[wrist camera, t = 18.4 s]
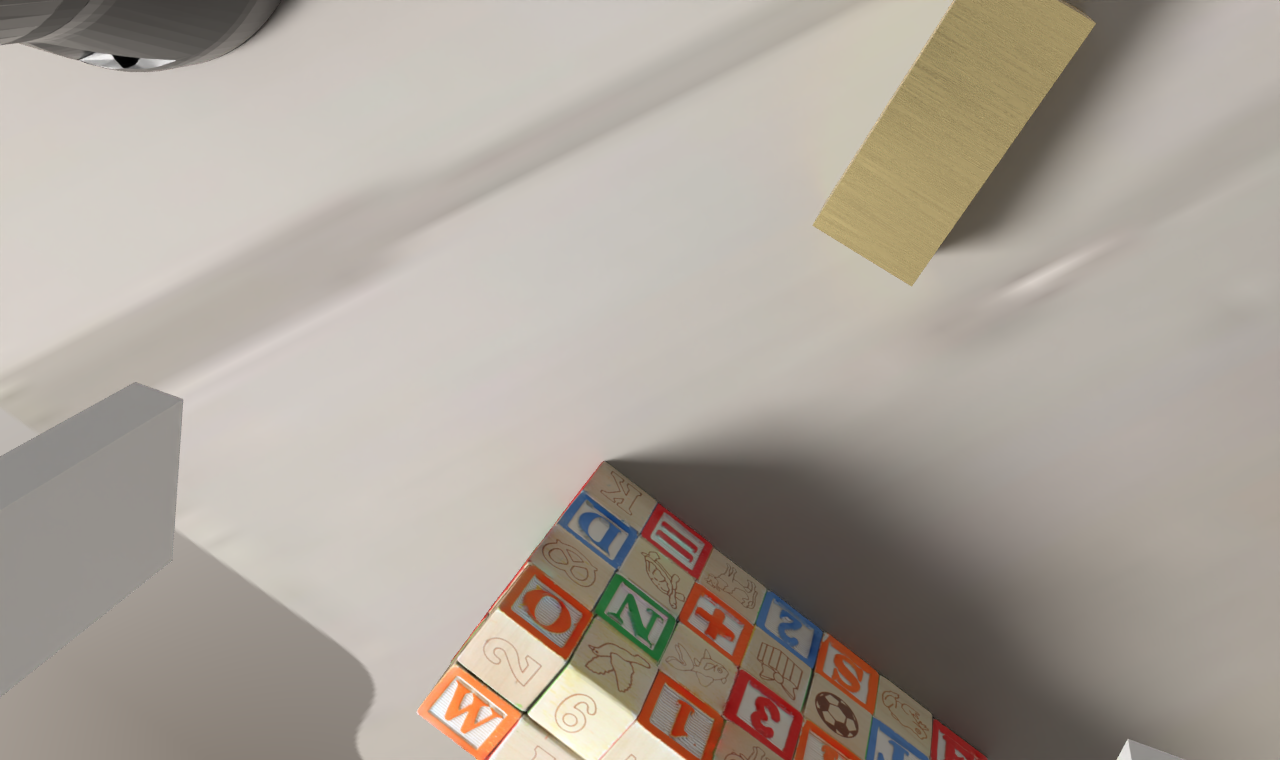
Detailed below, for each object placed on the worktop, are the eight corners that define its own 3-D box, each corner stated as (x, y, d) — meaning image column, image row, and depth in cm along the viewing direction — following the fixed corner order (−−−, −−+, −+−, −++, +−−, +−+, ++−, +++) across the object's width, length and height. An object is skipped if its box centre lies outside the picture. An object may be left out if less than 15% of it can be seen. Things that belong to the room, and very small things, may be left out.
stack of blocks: (994, 754, 50) (996, 990, 39) (901, 832, 53) (879, 1072, 42) (601, 456, 50) (493, 608, 39) (529, 549, 53) (409, 715, 42)
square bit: (983, -48, 39) (826, 200, 44) (983, -45, 36) (812, 225, 40) (1085, 13, 39) (917, 256, 44) (1096, 23, 36) (911, 286, 40)
